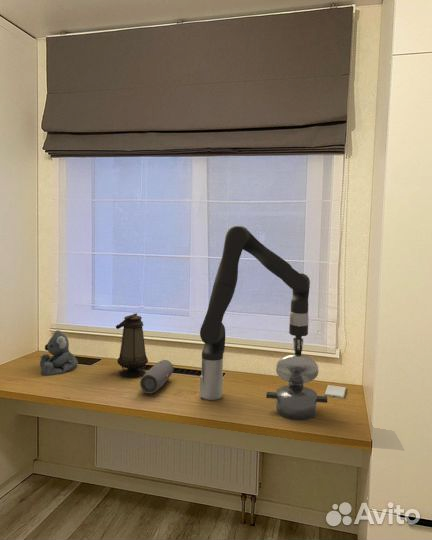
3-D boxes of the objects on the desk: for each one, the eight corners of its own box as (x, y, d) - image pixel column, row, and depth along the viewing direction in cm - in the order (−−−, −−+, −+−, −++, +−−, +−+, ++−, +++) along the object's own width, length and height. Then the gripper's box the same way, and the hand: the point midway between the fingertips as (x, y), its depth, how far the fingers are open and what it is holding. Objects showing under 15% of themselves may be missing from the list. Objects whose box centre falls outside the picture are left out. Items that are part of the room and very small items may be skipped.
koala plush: (39, 366, 228) (38, 329, 226) (75, 363, 235) (75, 326, 234) (41, 377, 212) (40, 337, 210) (80, 372, 220) (80, 334, 218)
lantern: (139, 381, 209) (140, 318, 207) (110, 378, 213) (110, 316, 210) (154, 369, 227) (154, 311, 224) (126, 366, 231) (127, 309, 228)
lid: (276, 357, 177) (276, 350, 179) (275, 384, 188) (275, 377, 191) (320, 360, 174) (319, 353, 177) (316, 388, 186) (316, 380, 188)
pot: (265, 417, 173) (265, 397, 172) (266, 401, 188) (267, 383, 188) (328, 422, 169) (329, 402, 168) (324, 406, 185) (325, 387, 184)
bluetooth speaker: (159, 397, 191) (159, 374, 190) (138, 395, 193) (138, 372, 192) (174, 379, 213) (174, 359, 212) (156, 378, 215) (156, 357, 214)
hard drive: (328, 384, 208) (324, 393, 196) (346, 387, 205) (343, 396, 194) (327, 388, 208) (324, 397, 197) (345, 390, 205) (343, 400, 194)
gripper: (289, 319, 187) (287, 358, 189) (289, 326, 174) (288, 369, 176) (307, 319, 186) (305, 360, 188) (309, 327, 173) (307, 370, 175)
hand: (297, 364), depth 182 cm, fingers closed
